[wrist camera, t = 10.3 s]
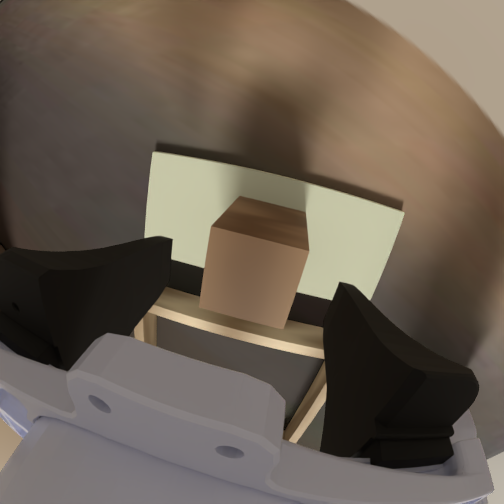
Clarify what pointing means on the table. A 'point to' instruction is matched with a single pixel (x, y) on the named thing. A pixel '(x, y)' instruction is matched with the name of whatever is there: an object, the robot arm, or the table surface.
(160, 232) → the place mat
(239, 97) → the table surface
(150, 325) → the box
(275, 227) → the walnut block
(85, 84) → the table surface
